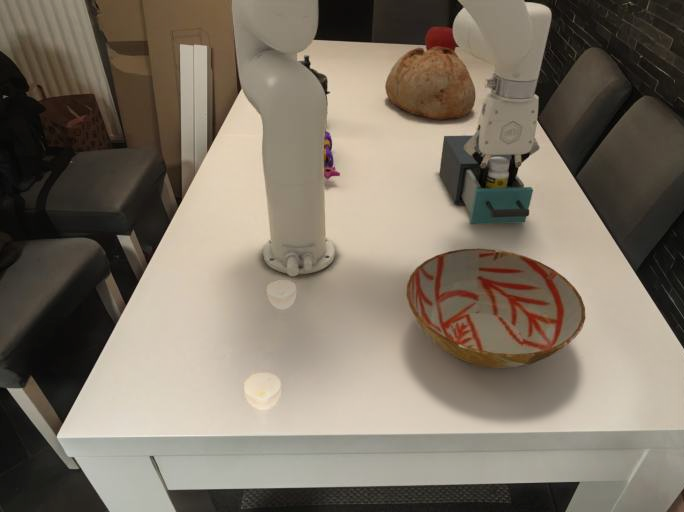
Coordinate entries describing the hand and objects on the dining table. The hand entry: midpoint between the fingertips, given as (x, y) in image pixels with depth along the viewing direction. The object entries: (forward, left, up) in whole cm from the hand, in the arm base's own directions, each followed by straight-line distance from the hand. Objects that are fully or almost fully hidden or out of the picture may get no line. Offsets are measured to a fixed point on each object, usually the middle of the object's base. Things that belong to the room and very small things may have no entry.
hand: (494, 183), depth 107 cm
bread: (+62, -1, -7) cm, 63 cm away
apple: (+106, -14, -7) cm, 108 cm away
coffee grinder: (+48, +35, -7) cm, 60 cm away
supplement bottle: (0, 0, -4) cm, 4 cm away
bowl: (-38, +12, -7) cm, 40 cm away
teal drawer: (-2, 0, -6) cm, 6 cm away
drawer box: (+11, 0, -7) cm, 13 cm away
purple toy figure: (+25, +36, -7) cm, 44 cm away
